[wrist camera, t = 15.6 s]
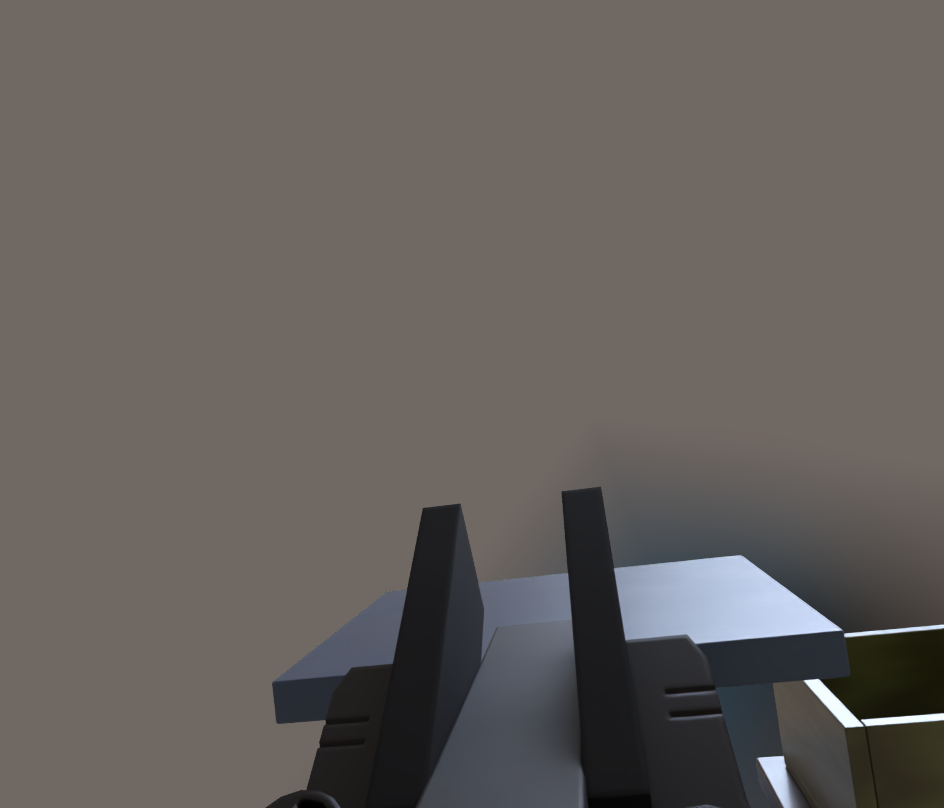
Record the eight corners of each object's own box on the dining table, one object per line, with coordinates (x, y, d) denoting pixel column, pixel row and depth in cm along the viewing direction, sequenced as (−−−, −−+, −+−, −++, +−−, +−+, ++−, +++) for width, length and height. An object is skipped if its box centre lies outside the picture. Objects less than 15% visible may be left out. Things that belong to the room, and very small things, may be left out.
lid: (-75, 1053, 9) (-88, 885, 9) (389, 618, 29) (383, 570, 30) (1237, 1019, 7) (1200, 810, 7) (745, 583, 28) (738, 532, 28)
